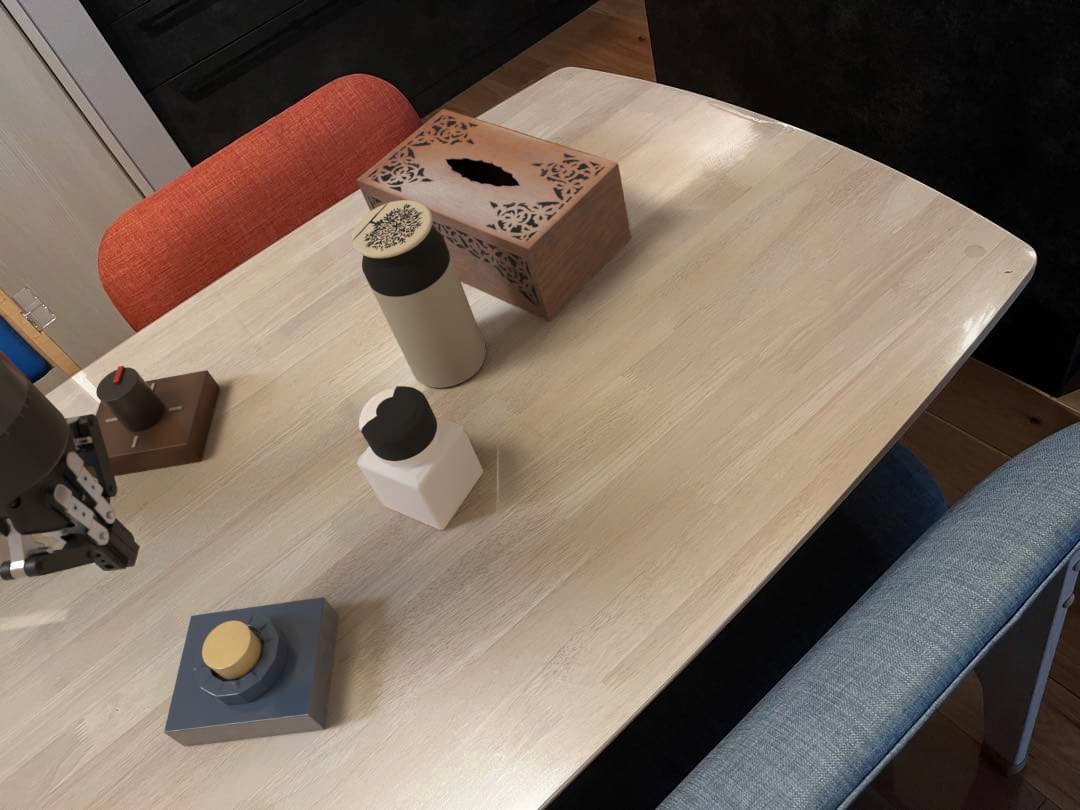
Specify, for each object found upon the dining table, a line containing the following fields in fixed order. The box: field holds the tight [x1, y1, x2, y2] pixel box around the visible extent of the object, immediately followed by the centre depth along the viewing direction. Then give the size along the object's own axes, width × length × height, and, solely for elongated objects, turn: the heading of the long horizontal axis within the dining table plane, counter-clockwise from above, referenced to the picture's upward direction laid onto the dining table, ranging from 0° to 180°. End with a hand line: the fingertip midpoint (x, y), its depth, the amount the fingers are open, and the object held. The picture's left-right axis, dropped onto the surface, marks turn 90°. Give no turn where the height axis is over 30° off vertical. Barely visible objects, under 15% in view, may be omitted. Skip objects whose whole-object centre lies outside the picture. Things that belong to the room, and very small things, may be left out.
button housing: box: [163, 596, 339, 747], centre depth 74 cm, size 12×10×5 cm
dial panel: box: [85, 369, 221, 480], centre depth 96 cm, size 12×10×3 cm
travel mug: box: [351, 200, 487, 389], centre depth 88 cm, size 8×8×18 cm
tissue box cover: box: [356, 107, 632, 322], centre depth 101 cm, size 26×14×10 cm, turn 50°
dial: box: [95, 365, 164, 431], centre depth 93 cm, size 4×4×5 cm
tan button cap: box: [202, 621, 262, 679], centre depth 71 cm, size 4×4×2 cm
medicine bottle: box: [357, 385, 484, 531], centre depth 80 cm, size 7×7×12 cm
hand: (125, 559), depth 66 cm, fingers closed
